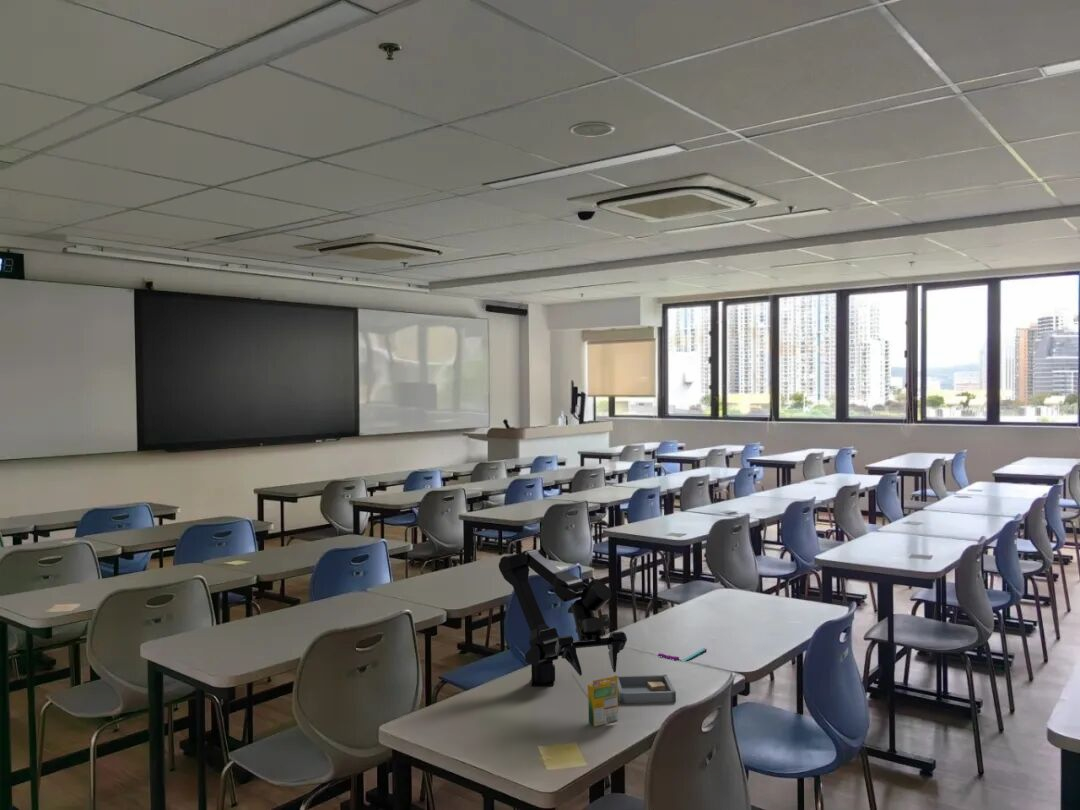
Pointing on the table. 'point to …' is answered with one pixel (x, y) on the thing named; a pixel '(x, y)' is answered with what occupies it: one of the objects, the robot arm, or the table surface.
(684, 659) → the bent bar
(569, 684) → the table surface
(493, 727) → the table surface
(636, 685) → the tray
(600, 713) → the crayon box
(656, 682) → the wood tile
